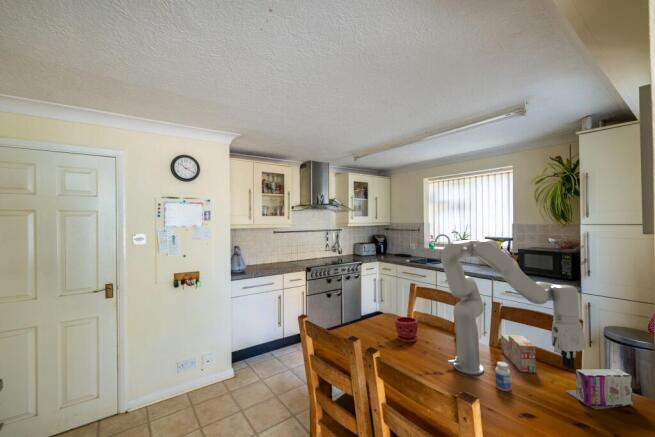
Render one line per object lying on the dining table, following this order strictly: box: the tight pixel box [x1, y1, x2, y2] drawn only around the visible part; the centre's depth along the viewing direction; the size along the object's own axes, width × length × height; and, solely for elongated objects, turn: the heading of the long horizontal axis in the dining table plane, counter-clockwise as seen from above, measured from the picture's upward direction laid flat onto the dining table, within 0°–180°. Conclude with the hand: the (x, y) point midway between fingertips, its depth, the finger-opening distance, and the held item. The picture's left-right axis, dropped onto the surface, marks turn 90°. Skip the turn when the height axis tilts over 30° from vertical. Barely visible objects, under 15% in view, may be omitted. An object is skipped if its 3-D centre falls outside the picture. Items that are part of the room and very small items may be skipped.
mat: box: [565, 389, 620, 410], centre depth 107 cm, size 14×11×1 cm
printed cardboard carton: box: [500, 334, 537, 374], centre depth 137 cm, size 21×6×12 cm, turn 169°
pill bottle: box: [494, 361, 512, 392], centre depth 115 cm, size 6×5×10 cm
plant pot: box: [394, 316, 419, 343], centre depth 167 cm, size 13×13×12 cm
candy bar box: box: [575, 368, 633, 407], centre depth 104 cm, size 11×5×16 cm
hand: (568, 367), depth 105 cm, fingers closed
